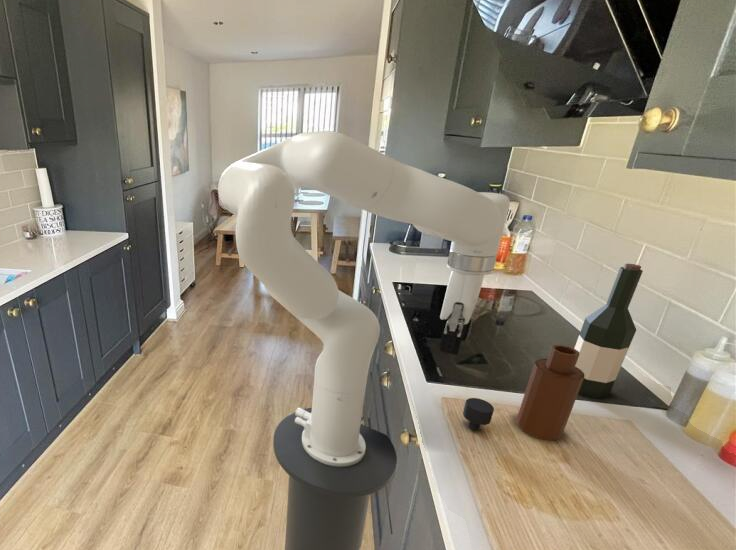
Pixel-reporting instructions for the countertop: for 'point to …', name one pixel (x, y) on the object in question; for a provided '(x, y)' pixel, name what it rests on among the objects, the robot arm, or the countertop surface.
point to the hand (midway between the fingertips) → (452, 342)
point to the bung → (477, 412)
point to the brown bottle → (550, 394)
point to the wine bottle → (607, 336)
